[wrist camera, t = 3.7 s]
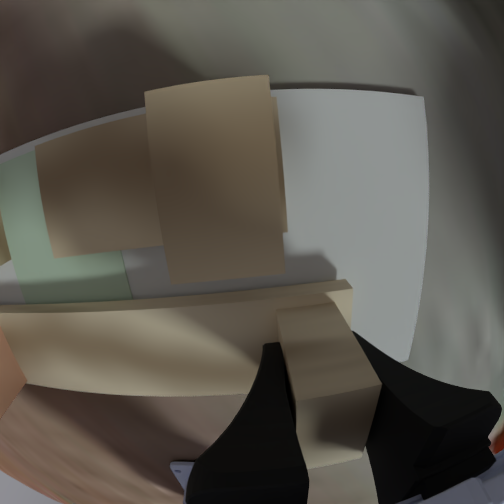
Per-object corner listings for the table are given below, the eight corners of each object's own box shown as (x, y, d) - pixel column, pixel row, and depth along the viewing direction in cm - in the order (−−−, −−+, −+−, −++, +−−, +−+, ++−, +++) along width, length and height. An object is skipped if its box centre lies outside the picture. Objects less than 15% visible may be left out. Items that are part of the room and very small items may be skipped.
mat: (405, 355, 15) (408, 360, 15) (-24, 365, 15) (-27, 368, 15) (419, 98, 11) (424, 96, 10) (-78, 199, 11) (-82, 200, 10)
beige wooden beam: (339, 366, 14) (378, 458, 8) (-13, 365, 14) (-53, 414, 8) (345, 278, 13) (410, 363, 7) (-40, 305, 12) (-92, 347, 7)
